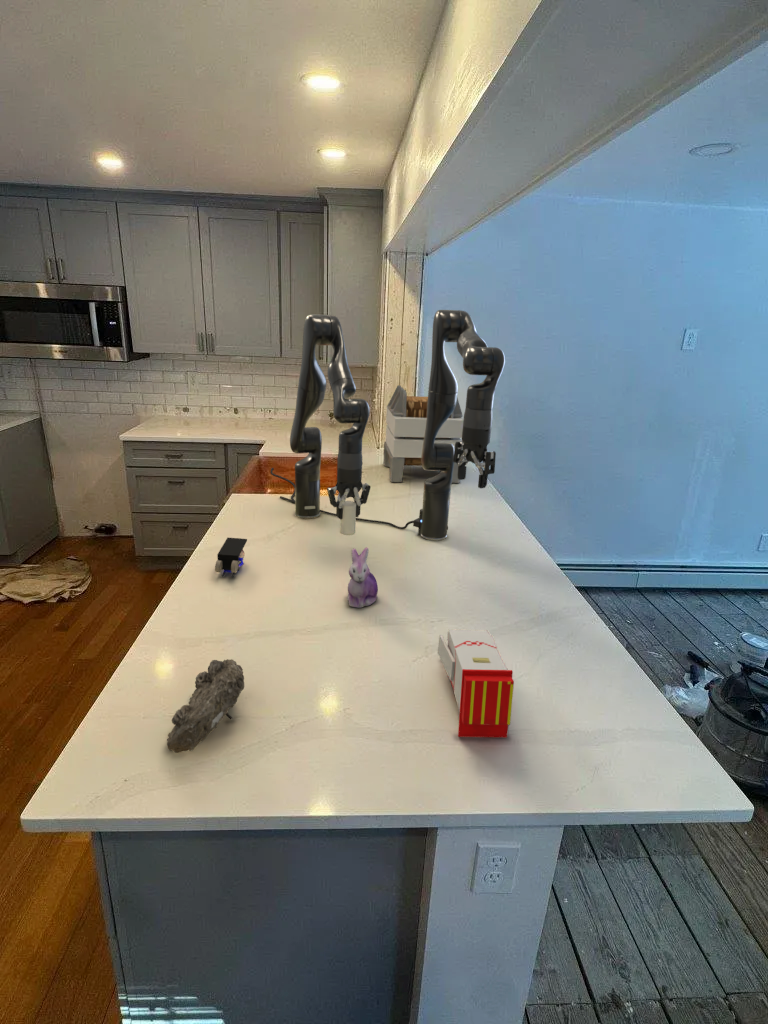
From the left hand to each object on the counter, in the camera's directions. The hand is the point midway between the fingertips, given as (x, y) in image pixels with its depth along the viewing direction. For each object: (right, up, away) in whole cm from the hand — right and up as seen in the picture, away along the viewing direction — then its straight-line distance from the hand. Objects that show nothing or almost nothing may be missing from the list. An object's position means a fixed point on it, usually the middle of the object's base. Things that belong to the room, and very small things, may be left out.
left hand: (348, 517), depth 177 cm
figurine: (+5, -22, -24) cm, 33 cm away
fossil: (-21, -38, -69) cm, 82 cm away
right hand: (+35, +9, -22) cm, 42 cm away
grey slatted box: (+29, +20, +98) cm, 104 cm away
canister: (0, -5, +2) cm, 5 cm away
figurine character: (-34, -15, -10) cm, 38 cm away
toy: (+29, -36, -59) cm, 75 cm away
